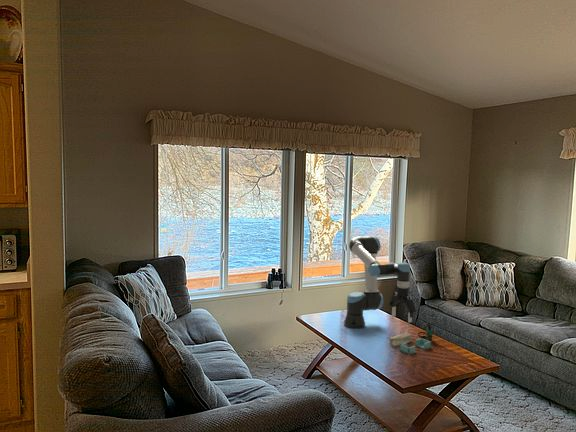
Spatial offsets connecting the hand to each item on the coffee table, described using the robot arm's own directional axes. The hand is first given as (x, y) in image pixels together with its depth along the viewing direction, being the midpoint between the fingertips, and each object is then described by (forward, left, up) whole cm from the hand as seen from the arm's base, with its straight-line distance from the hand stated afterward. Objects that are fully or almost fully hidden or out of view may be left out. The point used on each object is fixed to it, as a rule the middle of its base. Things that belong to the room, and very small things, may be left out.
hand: (401, 319), depth 281 cm
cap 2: (+12, +8, -16) cm, 21 cm away
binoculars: (+5, +19, -16) cm, 25 cm away
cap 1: (+12, -7, -16) cm, 21 cm away
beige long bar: (0, 0, -16) cm, 16 cm away
